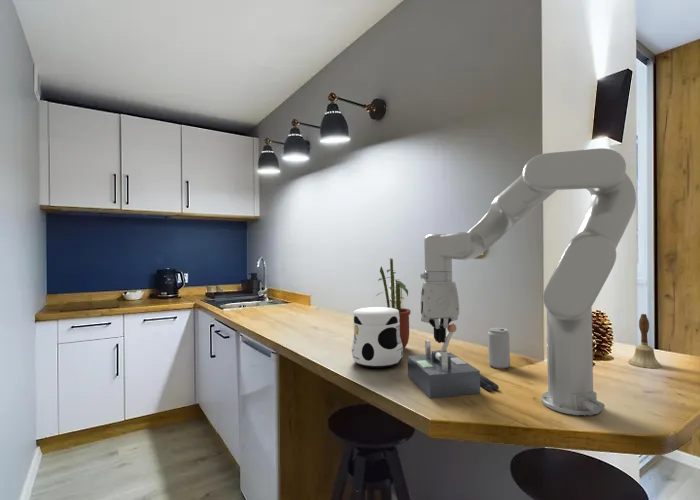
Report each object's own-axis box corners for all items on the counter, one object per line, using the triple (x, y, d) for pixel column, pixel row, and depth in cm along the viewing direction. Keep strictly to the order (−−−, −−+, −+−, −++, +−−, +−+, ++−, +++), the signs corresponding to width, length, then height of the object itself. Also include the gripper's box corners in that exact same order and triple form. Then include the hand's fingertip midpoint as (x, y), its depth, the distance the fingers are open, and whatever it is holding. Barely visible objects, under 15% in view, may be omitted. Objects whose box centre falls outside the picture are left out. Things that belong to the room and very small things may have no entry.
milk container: (344, 360, 135) (343, 309, 135) (389, 354, 141) (387, 305, 141) (364, 375, 119) (362, 317, 118) (413, 367, 125) (411, 312, 125)
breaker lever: (446, 364, 107) (460, 326, 108) (438, 361, 107) (452, 323, 108) (440, 360, 111) (454, 323, 112) (432, 357, 111) (446, 320, 112)
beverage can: (512, 369, 120) (511, 331, 119) (490, 369, 121) (489, 331, 121) (507, 363, 126) (506, 327, 126) (487, 362, 127) (486, 326, 127)
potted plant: (411, 354, 139) (409, 258, 139) (369, 353, 142) (366, 259, 141) (411, 342, 157) (409, 256, 156) (373, 341, 159) (371, 257, 159)
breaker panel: (480, 393, 102) (479, 351, 102) (430, 398, 99) (429, 356, 99) (451, 371, 119) (450, 336, 119) (407, 375, 117) (406, 339, 117)
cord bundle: (499, 390, 103) (499, 385, 103) (488, 392, 102) (488, 386, 102) (468, 370, 120) (468, 365, 120) (458, 371, 120) (458, 366, 120)
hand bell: (667, 369, 116) (666, 316, 116) (636, 368, 118) (635, 316, 118) (652, 361, 124) (651, 311, 124) (623, 360, 126) (622, 311, 126)
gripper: (418, 279, 104) (419, 347, 104) (469, 277, 107) (470, 343, 107) (409, 277, 111) (410, 340, 112) (457, 275, 114) (458, 336, 114)
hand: (439, 341), depth 109 cm, fingers closed
